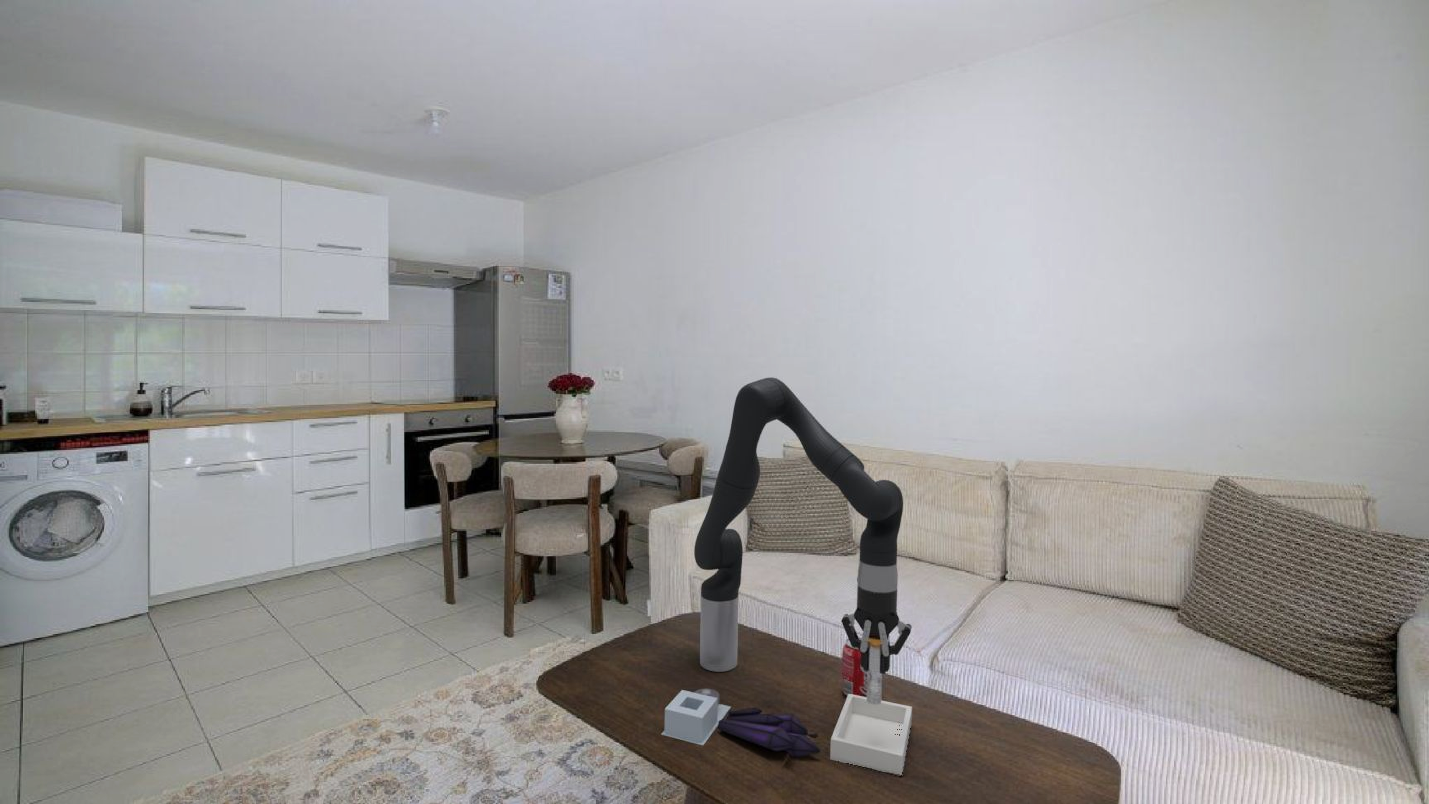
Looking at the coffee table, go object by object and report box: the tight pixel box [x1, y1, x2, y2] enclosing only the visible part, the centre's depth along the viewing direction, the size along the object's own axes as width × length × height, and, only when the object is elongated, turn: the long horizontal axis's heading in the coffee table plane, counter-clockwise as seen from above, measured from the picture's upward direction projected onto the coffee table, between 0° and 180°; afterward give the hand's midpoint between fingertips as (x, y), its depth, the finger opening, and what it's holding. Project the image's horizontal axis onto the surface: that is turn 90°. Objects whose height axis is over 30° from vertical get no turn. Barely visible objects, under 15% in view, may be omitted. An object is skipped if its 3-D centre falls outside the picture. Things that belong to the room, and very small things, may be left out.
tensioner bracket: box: [661, 688, 732, 746], centre depth 131 cm, size 15×9×6 cm, turn 158°
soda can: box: [840, 637, 867, 697], centre depth 144 cm, size 7×7×12 cm
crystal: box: [717, 707, 821, 758], centre depth 125 cm, size 7×12×20 cm
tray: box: [829, 694, 913, 776], centre depth 126 cm, size 18×13×4 cm
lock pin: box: [867, 636, 883, 705], centre depth 125 cm, size 4×4×13 cm
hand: (874, 670), depth 126 cm, fingers closed on lock pin, 2 cm apart
